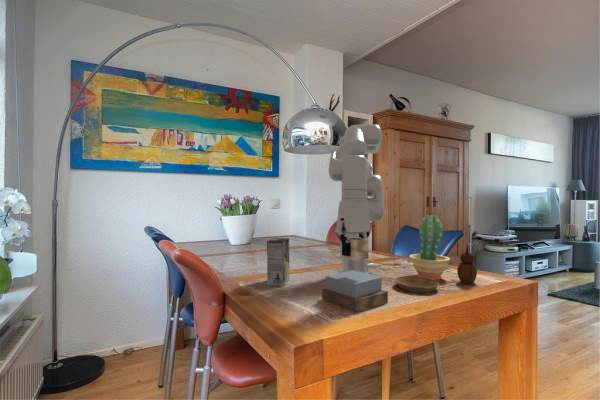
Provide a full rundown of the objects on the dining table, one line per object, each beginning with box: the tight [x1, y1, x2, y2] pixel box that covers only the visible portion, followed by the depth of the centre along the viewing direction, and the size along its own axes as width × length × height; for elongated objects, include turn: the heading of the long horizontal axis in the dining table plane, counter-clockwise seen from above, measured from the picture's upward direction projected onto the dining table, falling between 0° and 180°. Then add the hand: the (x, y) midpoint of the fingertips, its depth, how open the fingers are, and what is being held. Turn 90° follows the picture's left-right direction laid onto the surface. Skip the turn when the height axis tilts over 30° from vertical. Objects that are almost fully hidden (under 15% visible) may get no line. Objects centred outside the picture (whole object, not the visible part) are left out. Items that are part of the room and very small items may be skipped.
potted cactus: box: [409, 214, 451, 281], centre depth 124 cm, size 15×15×25 cm
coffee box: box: [266, 237, 290, 287], centre depth 115 cm, size 9×6×16 cm
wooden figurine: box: [456, 243, 478, 284], centre depth 116 cm, size 7×6×15 cm
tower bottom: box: [321, 287, 389, 314], centre depth 94 cm, size 14×14×4 cm
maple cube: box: [339, 237, 369, 261], centre depth 94 cm, size 6×6×6 cm
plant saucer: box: [394, 275, 440, 294], centre depth 109 cm, size 15×15×3 cm
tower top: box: [325, 270, 383, 299], centre depth 95 cm, size 12×12×4 cm
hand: (354, 254), depth 94 cm, fingers closed on maple cube, 6 cm apart
